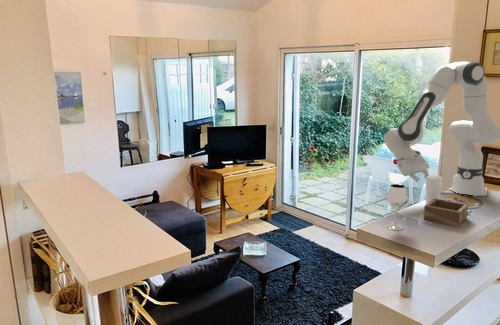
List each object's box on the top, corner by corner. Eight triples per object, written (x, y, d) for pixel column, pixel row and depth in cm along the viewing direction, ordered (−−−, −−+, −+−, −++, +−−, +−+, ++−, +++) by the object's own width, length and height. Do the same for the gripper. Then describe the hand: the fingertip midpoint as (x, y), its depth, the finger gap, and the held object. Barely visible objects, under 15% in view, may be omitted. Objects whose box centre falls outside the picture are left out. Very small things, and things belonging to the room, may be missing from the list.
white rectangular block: (436, 205, 193) (438, 175, 190) (441, 209, 186) (444, 178, 183) (422, 204, 194) (424, 175, 191) (426, 209, 187) (429, 178, 184)
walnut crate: (433, 211, 183) (434, 198, 182) (466, 218, 174) (468, 204, 173) (423, 219, 173) (424, 205, 171) (458, 227, 164) (459, 212, 162)
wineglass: (380, 227, 165) (383, 185, 161) (391, 222, 170) (393, 182, 166) (398, 232, 159) (401, 189, 155) (409, 227, 164) (412, 186, 160)
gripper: (399, 156, 189) (417, 179, 183) (421, 151, 201) (438, 173, 195) (390, 163, 193) (407, 186, 187) (412, 158, 205) (429, 180, 200)
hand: (423, 179), depth 191 cm, fingers open, 8 cm apart
